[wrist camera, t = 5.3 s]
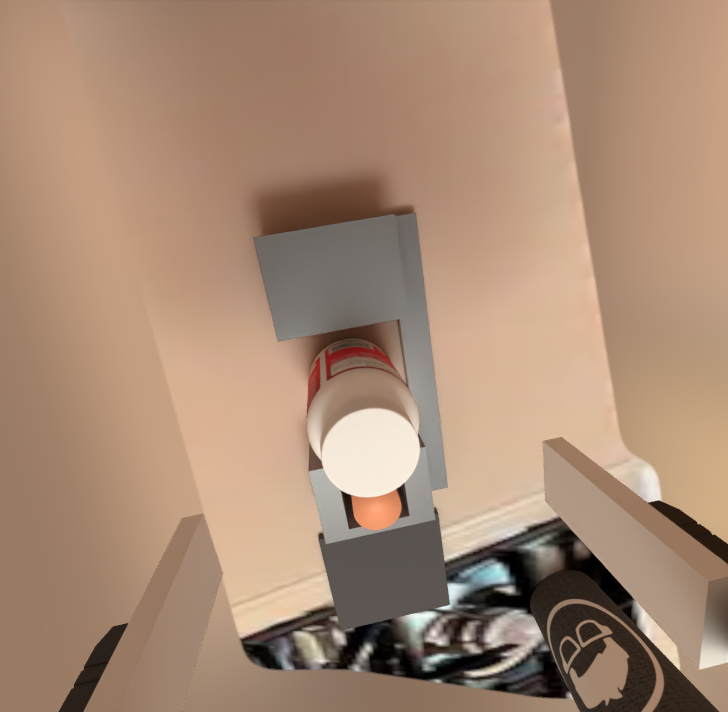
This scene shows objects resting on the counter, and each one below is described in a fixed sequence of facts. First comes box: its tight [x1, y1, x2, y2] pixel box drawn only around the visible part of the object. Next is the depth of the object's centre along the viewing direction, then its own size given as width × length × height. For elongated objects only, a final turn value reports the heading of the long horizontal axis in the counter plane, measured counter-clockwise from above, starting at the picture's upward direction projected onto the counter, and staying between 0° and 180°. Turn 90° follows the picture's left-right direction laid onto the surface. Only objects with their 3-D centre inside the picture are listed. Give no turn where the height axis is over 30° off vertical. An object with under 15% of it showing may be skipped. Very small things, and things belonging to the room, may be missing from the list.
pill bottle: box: [307, 338, 420, 497], centre depth 23 cm, size 6×6×11 cm
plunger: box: [351, 489, 402, 530], centre depth 28 cm, size 3×3×5 cm
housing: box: [253, 213, 448, 544], centre depth 26 cm, size 21×10×4 cm, turn 9°
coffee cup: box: [530, 570, 719, 712], centre depth 30 cm, size 10×10×15 cm
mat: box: [319, 509, 450, 631], centre depth 33 cm, size 10×10×1 cm
